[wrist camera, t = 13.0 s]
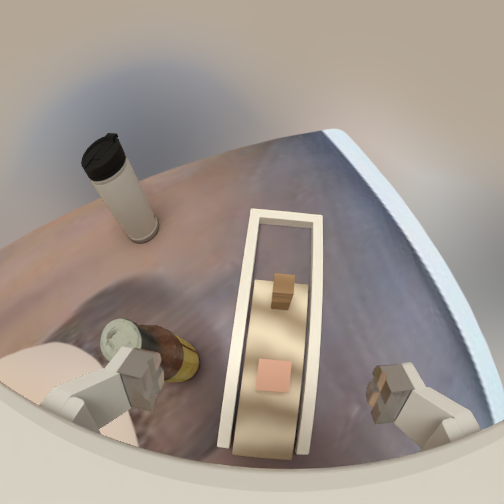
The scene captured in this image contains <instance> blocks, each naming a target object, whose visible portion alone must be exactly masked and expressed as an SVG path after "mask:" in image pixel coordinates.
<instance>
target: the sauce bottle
mask: <svg viewBox="0 0 504 504" xmlns="http://www.w3.org/2000/svg"><path fill="white" fill-rule="evenodd" d="M100 345H101V351H102V353H103V355H104V357H105V358H106V359H107V360H108V361H109V362H110V361H111V360H112V358H113V357H114V356H115V354H116V353H117V352H118V350H119V349H120V348H121V347H122V346H124V345H125V346H130V347H134V348H139V349H144V350H148V351H153V352H158V353H159V354H160V356H161V360H162V361H161V363H160V365H159V366H160V367H161V368H162V369H163V371H164V382H183V381H186V380H188V379H190V378H191V377H193V375H194V374H195V373H196V372H197V370H198V368H199V357H198V353H197V351H196V350H195V348H194V347H193V346H192V345H191V344H190V343H188V342H187V341H185V340H184V339H182V338H180V337H178V336H177V335H175V334H174V333H172V332H170V331H169V330H166V329H164V328H162V327H160V326H157V325H140V326H139V325H137V324H136V323H134V322H132V321H130V320H127V319H123V318H120V319H115V320H112V321H111V322H110V323H108V324H107V325H106V326H105V328H104V330H103V332H102V335H101V340H100Z"/></svg>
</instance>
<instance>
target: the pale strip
mask: <svg viewBox="0 0 504 504" xmlns="http://www.w3.org/2000/svg"><path fill="white" fill-rule="evenodd" d="M294 281H295V275H288V274H278V273H275V275H274V282H273V281H263V280H255V284H254V291H253V299H252V307H251V315H250V323H249V331H248V338H247V346H246V354H245V361H244V369H243V377H242V384H241V392H240V399H239V407H238V414H237V421H236V429H235V436H234V443H233V451H232V455H239V456H248V457H257V458H269V459H285V460H292V454H293V447H294V440H295V433H296V425H297V417H298V409H299V400H300V391H301V381H302V371H303V360H304V348H305V334H306V319H307V301H308V285H306V284H295V283H294ZM259 358H260V359H270V360H282V361H292V365H291V375H290V384H289V393H286V392H273V391H262V390H255V389H256V381H257V373H258V365H259Z"/></svg>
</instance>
